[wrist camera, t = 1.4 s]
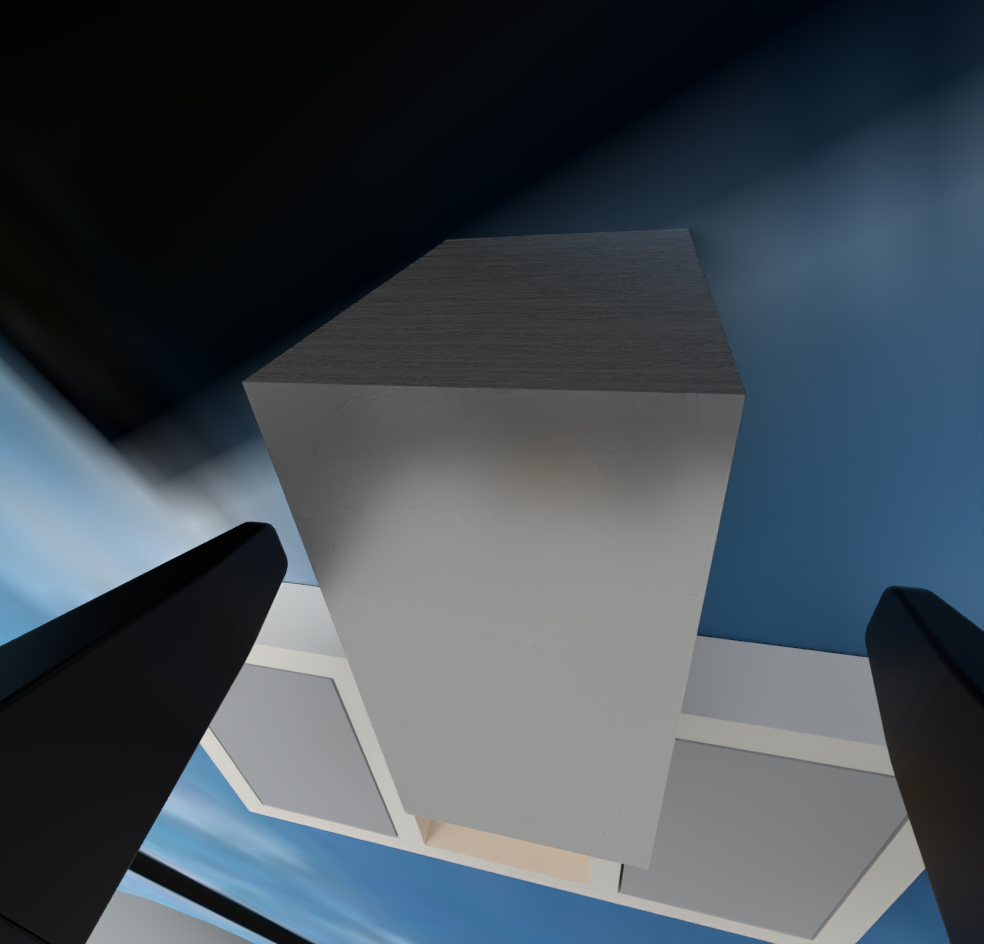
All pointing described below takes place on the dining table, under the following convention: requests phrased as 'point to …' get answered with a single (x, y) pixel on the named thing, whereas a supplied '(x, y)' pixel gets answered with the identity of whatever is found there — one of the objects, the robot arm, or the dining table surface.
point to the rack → (687, 798)
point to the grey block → (517, 520)
